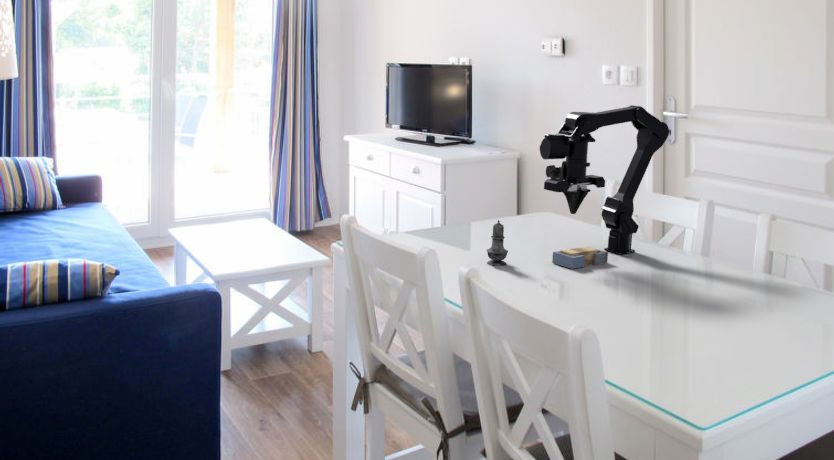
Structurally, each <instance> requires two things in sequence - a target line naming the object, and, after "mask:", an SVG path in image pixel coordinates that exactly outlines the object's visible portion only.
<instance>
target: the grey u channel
mask: <svg viewBox="0 0 834 460" xmlns="http://www.w3.org/2000/svg"><path fill="white" fill-rule="evenodd" d="M596 249H597V250H598V253H595V254H594V259H593V264H592V265H593V266H598V265H604V264H608V258H609V257H608V256H609V251H606V250H601V249H598V248H596Z"/></svg>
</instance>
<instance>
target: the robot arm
mask: <svg viewBox="0 0 834 460" xmlns="http://www.w3.org/2000/svg"><path fill="white" fill-rule="evenodd" d="M628 122H630V123H631V124H632V126H633V127H634V129H636V130H637V134H636V149H635V151H634V154H633V155H632V158H631V161H630V163H629V165H628V167H627V169H626V172H625V174H624V176H623V178H622V180H621V184H620V186H619V188H618V189H617V192H616V193H615V194H614V195H612V197H611V196H609V195H608V196H606V198H605V200H604V201H605V202H604V204H603V206H602V207H601V210H602V211H601V218H602V220H603V222H604V225H605V227H606V229H610V230H609V233H608V234H609V235H608V240H607V242H608V243H607V247H605V248H603V251H605V252H610V253H614V254H617V255H625V254H631V253H636V250H635V249H633V248H632V241H633V234H636V233H637V232H638V230H639V224H638V223H637V222H636V221H635V220H634V219H633V218H632V217H633V214H634V211H635V209H634V199H635V196H636V194H637V192H638V190H639V187H640V185H641V183H642V180H643V178H644V176H645V174H646V171H647V169H648V167H649V164H650V163H651V160H652V158H653V156H654V154H655V153H656V152H657V151H658V150H660V149H661V148H662V147H663V145H664V144H665V142H666V141H667V139H668V137H669V135H670V128H669V126H668V124H667V123H666V122H664V121H661V120H660V119H659V118H657V117H656V116H654V115H653V114H651V113H650V112H649V111H647V110H646V108H644V107H642V106H640V105H629V106H626V107H625V106H624V107H619V108H615V109H609V110H603V111H598V112H597V111H596V112H588V111H587V112H586V111H571V112H568V113H567V115H566V118H565V120H564V122H563V123H562V124H561V126H560V128H559V129H558V130H557V132H556V134H550V133H545V134H544V138H543V139H542V141H541V142H540V145H539V154H540V157H541V158H542V159H543V160H562V163H561V165H560V166H558V167H557V166H556V165H554V164H553V165H547V166H546V167H545V175H546V177H547V179H546V180H545V181H544V182H543V184H544V185H543V190H545V191H551V192H554V193H562V194H563V195H564V196H565V199H566V202H567V205H568V209H569V212H570V214H572V215H576V213H577V212H578V209H580V207H581V205H582V203H583V201H584V200H585V198H586V197H587V195H588V194H589V192H591V189H589V188H588V186H592V185H593V186H595V187H596V188H598V189H599V188H605V186H606V179H605V178H604V176H600V175H594V174H587V167H588V168H589V167H590V166H591V162H588V150H589V143H595V142H596V139H595V138H594V137H593V136H592V134H591V133H593V132H596V131H597V130H599V129H600V128H603V127H607V126H614V125H619V124H623V123H628ZM563 159H565V160H563Z"/></svg>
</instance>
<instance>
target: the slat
mask: <svg viewBox="0 0 834 460" xmlns="http://www.w3.org/2000/svg"><path fill="white" fill-rule="evenodd" d="M597 249H598V248H594V247H590V246H582V247H576V248H569V249H568V248H567V249H561V250H559V251H560V253H562V254H566V255H569V256H572V257H574V256H580V255H584V256H585V263H584V266H586V265H594V264H593V259H594V254H595V253H598V250H599V249H598V250H597Z"/></svg>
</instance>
